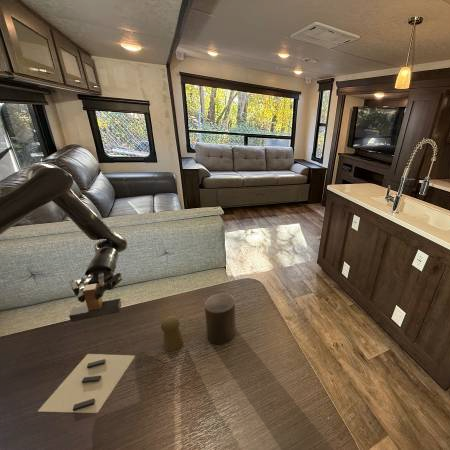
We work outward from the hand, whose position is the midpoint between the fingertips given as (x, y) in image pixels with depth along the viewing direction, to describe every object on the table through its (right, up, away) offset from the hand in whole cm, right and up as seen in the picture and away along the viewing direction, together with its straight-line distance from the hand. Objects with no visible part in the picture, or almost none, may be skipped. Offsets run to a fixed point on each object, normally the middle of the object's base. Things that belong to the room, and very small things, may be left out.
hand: (89, 298), depth 73 cm
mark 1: (+3, -19, -1) cm, 19 cm away
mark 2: (+5, -21, -5) cm, 22 cm away
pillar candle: (+34, -17, +15) cm, 41 cm away
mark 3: (+8, -24, -11) cm, 27 cm away
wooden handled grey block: (-2, -6, +5) cm, 8 cm away
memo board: (+5, -22, -5) cm, 23 cm away
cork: (+21, -18, +8) cm, 29 cm away
